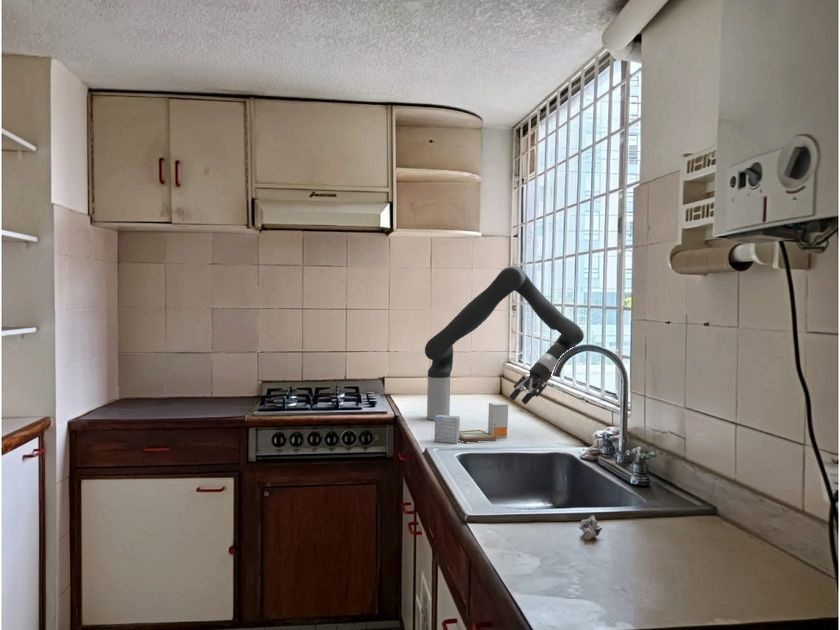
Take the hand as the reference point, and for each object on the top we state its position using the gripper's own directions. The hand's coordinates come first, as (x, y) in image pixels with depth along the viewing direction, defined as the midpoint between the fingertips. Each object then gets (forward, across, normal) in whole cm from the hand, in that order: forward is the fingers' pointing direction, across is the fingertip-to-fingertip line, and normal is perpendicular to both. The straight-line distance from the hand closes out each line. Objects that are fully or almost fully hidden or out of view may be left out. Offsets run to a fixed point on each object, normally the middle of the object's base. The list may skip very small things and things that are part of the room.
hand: (517, 400), depth 222 cm
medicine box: (+29, +2, -11) cm, 31 cm away
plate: (+21, 0, -4) cm, 22 cm away
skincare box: (+14, 0, +4) cm, 15 cm away
